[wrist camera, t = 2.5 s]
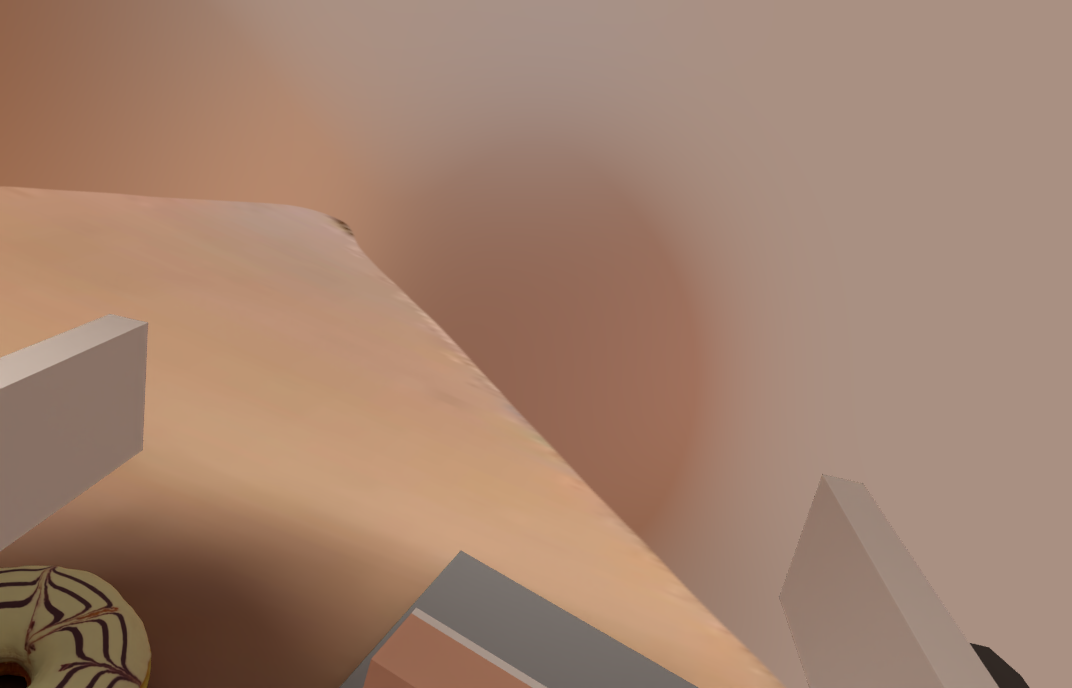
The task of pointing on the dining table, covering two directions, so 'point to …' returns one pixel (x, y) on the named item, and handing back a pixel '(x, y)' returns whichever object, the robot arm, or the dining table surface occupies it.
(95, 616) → the decorated donut
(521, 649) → the slate mat
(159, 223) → the dining table surface
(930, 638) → the robot arm
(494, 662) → the terracotta tile
